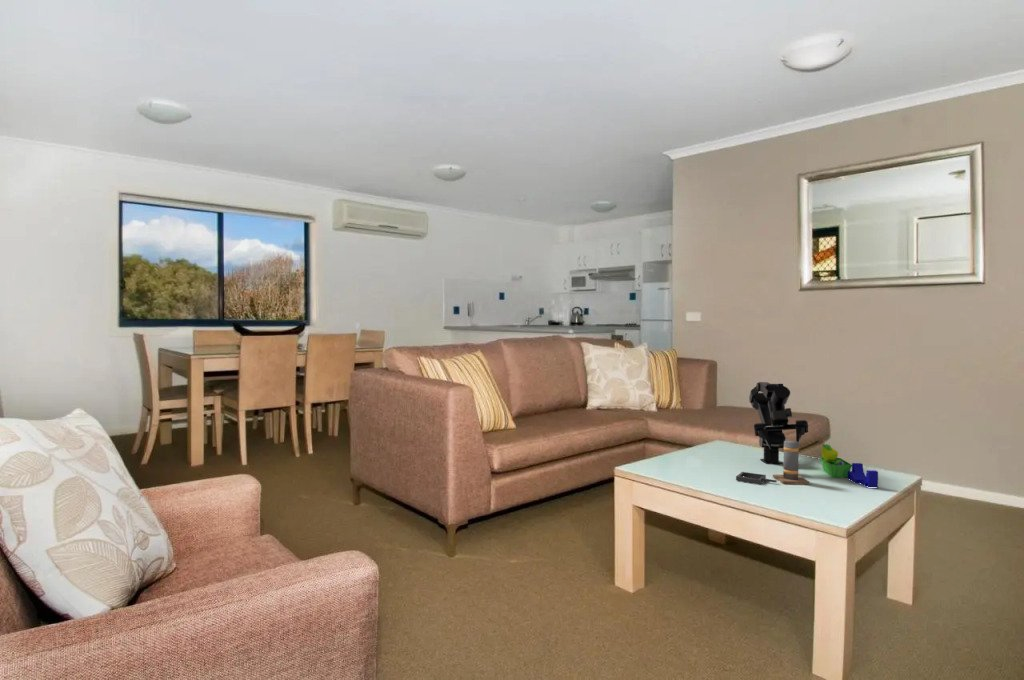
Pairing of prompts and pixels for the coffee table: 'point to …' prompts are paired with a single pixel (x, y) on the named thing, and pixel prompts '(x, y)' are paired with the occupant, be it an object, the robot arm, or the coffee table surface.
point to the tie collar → (758, 480)
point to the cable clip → (863, 475)
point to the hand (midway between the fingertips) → (784, 448)
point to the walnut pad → (788, 481)
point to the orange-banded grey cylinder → (791, 460)
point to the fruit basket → (833, 462)
